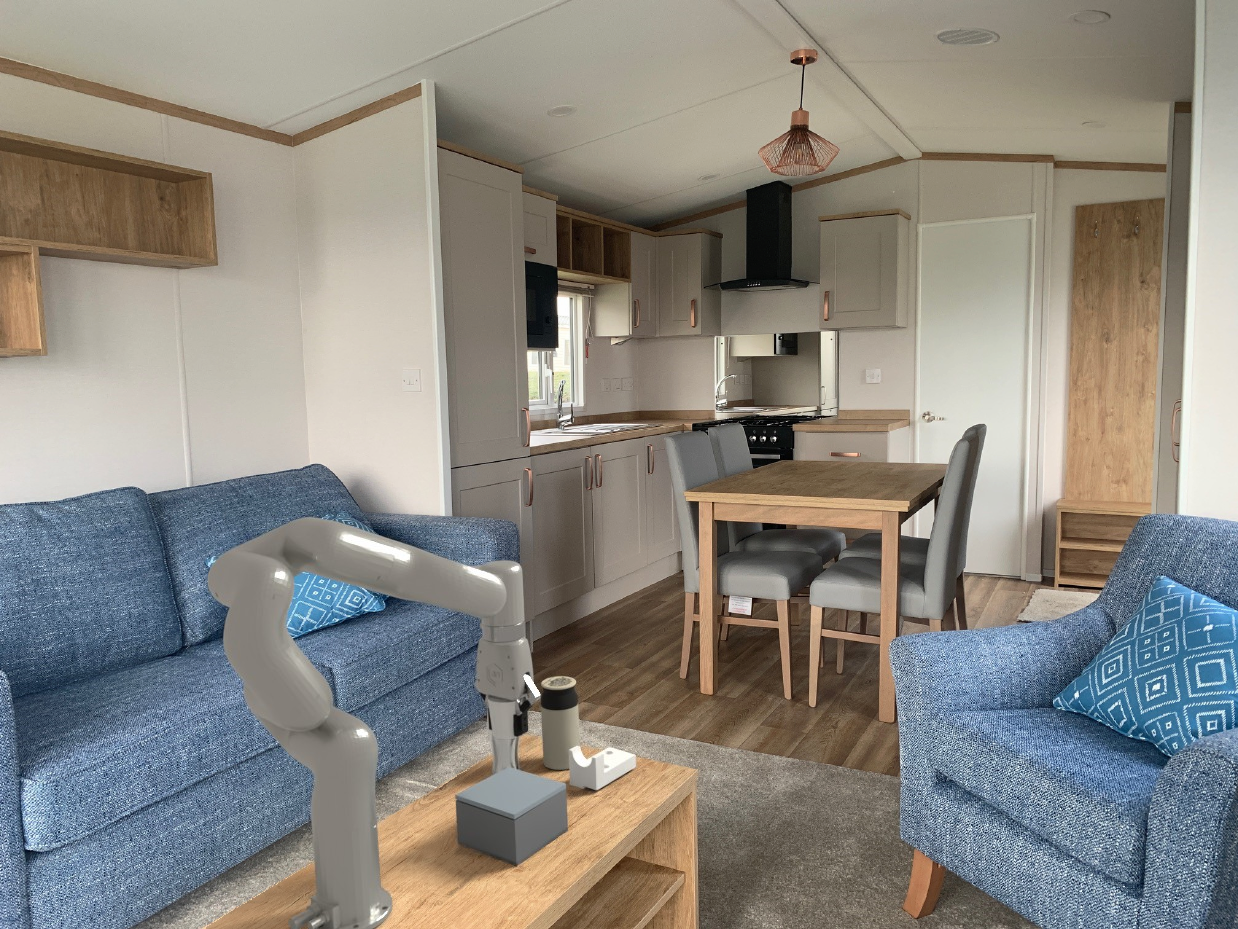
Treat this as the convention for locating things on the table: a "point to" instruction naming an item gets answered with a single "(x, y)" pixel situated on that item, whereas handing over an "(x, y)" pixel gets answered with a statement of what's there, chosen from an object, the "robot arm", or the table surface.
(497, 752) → the silver metal tumbler
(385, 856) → the table surface
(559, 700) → the travel mug
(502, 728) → the white cup
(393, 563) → the robot arm
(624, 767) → the bracket
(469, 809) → the storage box
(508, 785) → the lid
